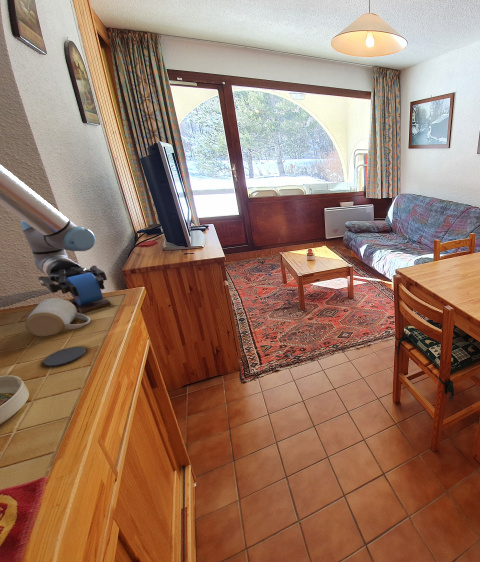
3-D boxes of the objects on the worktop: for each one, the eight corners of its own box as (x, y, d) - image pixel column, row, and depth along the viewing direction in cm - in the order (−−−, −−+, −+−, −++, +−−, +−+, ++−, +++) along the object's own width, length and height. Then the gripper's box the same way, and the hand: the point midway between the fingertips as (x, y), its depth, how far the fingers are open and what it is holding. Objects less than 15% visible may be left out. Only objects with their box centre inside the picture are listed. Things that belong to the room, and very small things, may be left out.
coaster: (35, 366, 67) (34, 363, 66) (67, 347, 73) (66, 345, 73) (63, 368, 66) (62, 366, 66) (93, 350, 72) (92, 348, 72)
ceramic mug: (29, 342, 74) (16, 314, 72) (44, 326, 81) (32, 299, 78) (85, 332, 79) (75, 306, 76) (95, 318, 86) (86, 293, 83)
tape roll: (83, 309, 87) (73, 282, 83) (73, 300, 91) (63, 274, 88) (105, 303, 91) (96, 276, 87) (94, 294, 95) (86, 269, 91)
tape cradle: (112, 307, 91) (110, 301, 91) (83, 316, 86) (81, 310, 86) (99, 298, 97) (96, 292, 96) (71, 306, 92) (68, 300, 91)
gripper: (102, 273, 106) (130, 289, 94) (27, 290, 92) (49, 312, 80) (95, 252, 103) (123, 266, 91) (16, 267, 89) (38, 286, 78)
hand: (89, 288), depth 86 cm, fingers closed on tape roll, 5 cm apart
